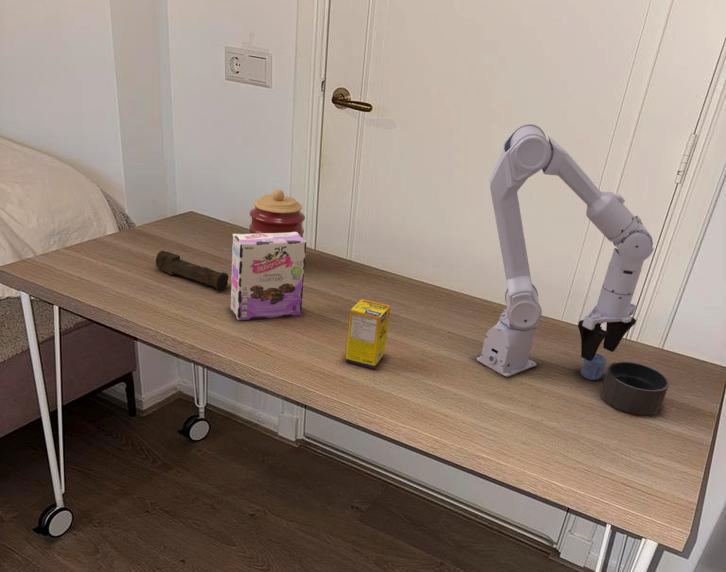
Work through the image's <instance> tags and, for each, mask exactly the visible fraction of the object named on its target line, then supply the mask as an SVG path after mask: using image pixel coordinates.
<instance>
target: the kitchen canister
mask: <svg viewBox="0 0 726 572" xmlns="http://www.w3.org/2000/svg"><path fill="white" fill-rule="evenodd" d="M253 206H254V207H253V208H252V209H250V210H249V216H250V218H251V222H250V223H249V226H248V228H249V234H259V233H290V232H297V233H298V234H299V235H300V236H301V237H302V238H304V233H305V229H304V227H303V222H304V221H305V219H306V216H305V214H304V213H303V212H302V211H301V210H302V209H303V205H302V204H301V203H300V202H299V201H297V199H295V197H292V196H289V195H285V193H284V191H283V190H282V189H279V188H278V189H277V188H276V189H275V190H273V192H272V194H264V195H261V196H260V197H259V198H257V199H255V200H254V201H253Z"/></svg>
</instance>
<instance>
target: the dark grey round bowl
mask: <svg viewBox="0 0 726 572" xmlns="http://www.w3.org/2000/svg"><path fill="white" fill-rule="evenodd" d="M669 387H670V381H669V379H668V378H667V377H666V375H665V374H663V373H662V372H660V371H659V370H657V369H655V368H653V367H651V366H649V365H646V364H643V363H638V362H633V361H624V360H623V361H615V362H613V363H610V364H609V366H608V367H607V369H606V373H605V375H604V378H603V382H602V385H601V388H600V396H601V397H602V399H603V400H604V401H605V402H606V403H607V404H609V405H610V406H611V407H613V408H615V409H617V410H619V411H621V412H624V413H627V414H631V415H636V416H637V415H639V416H649V415H655V414H656V413H658V412H659V411H660V409H661V407H662V405H663V402H664V400H665V397H666V394H667V392H668V390H669Z"/></svg>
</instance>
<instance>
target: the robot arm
mask: <svg viewBox="0 0 726 572" xmlns="http://www.w3.org/2000/svg"><path fill="white" fill-rule="evenodd" d="M547 138H548V139H547ZM494 166H495V167H494V168H493V170H492V173H491V175H490V179H489V189H490V196H491V200H492V206H493V213H494V218H495V224H496V230H497V236H498V241H499V246H500V252H501V257H502V263H503V269H504V275H505V281H506V286H507V287H506V291H505V292H504V293H505V294H504V300H505V304H506V305H505V306H506V308H505V309H504V310H503V311H502V313H500V316H499V319H498V321H497V323H496V324H495V325H494V326H492V327H490V328H489V329H488V330H487V331H486V333H485V336H484V339H483V345H482V349H481V354H480V356H477V357H476V361H477V362H479V363H481V364H482V365H484V366H486V367H487V368H489V369H491V370H493V371H495V372H496V373H498V374H500V375H502V376H503V377H505V378H506V377H507V378H508V377H510V376H513V375H516V374H519V373H521V372H524V371H527V370H529V369H531V368H534V367H536V366H537V362H535V361H533V360H531V359H530V355H531V351H532V347H533V343H534V340H535V336H536V332H537V329H538V325H539V322H540V321H541V319H542V315H543V309H542V307H541V305H540V300H539V292H538V290H537V289H538V288H537V287H536V286H535V285H534V284H533V282H532V277H531V272H530V271H531V270H530V265H529V258H528V252H527V251H528V250H527V246H526V239H525V233H524V227H523V220H522V214H521V208H520V202H519V195H518V192H519V190H520V188H522V187H523V186H524V184H525V182H526V181H528V179H530V178H531V177H532V176H534V175H536V174H537V173H539V172H540V171H542V173H543V175H548V176H558V177H559V178H560V179H561V180H562V181H563V182H564V184H566V185H567V186H568V187H569V188H570V190H572V191H573V192H574V194H576V196H578V198H580V199H581V201H583V203H584V204H585V205H586V211H585V216H586V218H587V219H588V220H589V221H590V222H591V223H592V224H593V225H594V226H595V227H596V228H597V229H598V231H599V232H600V233H601V234H602V235H603V236H604V237H605V238H606V239H607V240H608V241H609V242H611V243H612V244H613V246H614V248H613V252H612V253H611V254H612V255H611V257H610V260H609V263H608V266H607V269H606V273H605V276H604V279H603V282H602V285H601V288H600V293H599V295H598V299H597V302H596V305H595V306H594V307H593V308H592V310H591V311H590V312H589V314H587V315H585V316H584V317H583V319H581V320H579V321H578V324H577V327H578V330H579V335H580V340H581V341H580V345H581V347H580V349H581V350H580V354H581V355H580V356H581V357H580V358H581V359H583V360H584V359H586V360H588V361H592V359H593V358H594V356H595V354H597V352H598V350H599V347H600V345H601V344H602V342H603V346H602V347H603V348H602V349H605V350H606V351H608V352H610V353H613V352H615V351H616V349H617V347H618V346H619V344H620V343H621V341H622V340H623V338H624V336H625V335H626V334H627V333H628V332H629V330H630V329H631V328H632V327H634V326H635V325H636V322H637V319H636V318H635V317H632V316H633V315H634V313H635V311H636V308H637V305H636V304H634V303H632V300H633V297H634V294H635V291H636V288H637V285H638V282H639V279H640V275H641V273H642V268H643V266H644V262H645V261H646V260H647V259H648V258H650V256H651V255H652V254H653V252H654V250H655V249H654V247H653V246H654V242H653V237H652V235H651V234H650V232H649V230H647V228H646V227H645V226H644V224H643V222H642V219H641V217H639V215H634V214H633V213H632V212H631V211H630V209H629V208H628V207H627V206H626V205H625V204H624V203H625V202H626V199H625V198H624V197H623V196H622V195H621V194H617V195H616V194H615V192H613V191H601V190H600V188H599V187H598V186H597V185H596V184H595V183H594V182H593V181H592V179H591V178H590V177H589V176H588V174H586V172H585V171H584V170H583V169H582V167H581V166H580V165H579V164H578V163H577V161H576V160H575V159H574V158H573V157H572V155H570V153H569V152H568V151H567V150H566V149H565V148H564V147H563V146H561V145H560V144H559V143H558V142H557V141H556V140H555V139H553V138H552V137H551V136H550V135H547V137H546V134H545V131H544V130H543V129H542V128H541V127H540V126H538V125H536V124H533V123H526V124H522V125H520V126H519V127H517V128H516V129H515V130H514V131H513V132H512V133H511V134H510V135H509V136H508V138H507V139H506V140H505V141H504V142H503V146H502V149H501V152H500V154H499V157H498V159H497V162H496V164H495V165H494ZM605 323H606V324H605ZM602 324H605V325H606V327H605V329H604V328H603V327H602Z"/></svg>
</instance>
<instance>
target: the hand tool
mask: <svg viewBox="0 0 726 572" xmlns="http://www.w3.org/2000/svg"><path fill="white" fill-rule="evenodd" d="M155 267H156V269H158V270H160V271H161V272H164V273H166V274H168V275H170V276H181V277H183V278H186V279H190V280H193V281H195V282H198V283H201V284H203V285H206V286H207V287H208V286H209V287H213V288H215V289H216V291H217V292H219V293H220V292H221V291H224V290H225V289H226V288H227V287H228V283H229V274H228V273H227V272H220V271H217V270H214V269H212V268H209V267H206V266H201V265H198V264H195V263H192V262H189V261H186V260H184V259H181V256H180V255H178V254H176V253H173V252H170V251H165V250H160V251H159V252H157V255H156V257H155Z"/></svg>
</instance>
